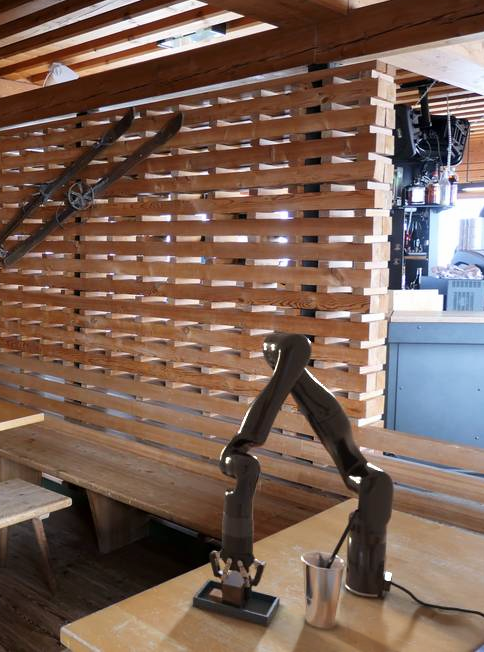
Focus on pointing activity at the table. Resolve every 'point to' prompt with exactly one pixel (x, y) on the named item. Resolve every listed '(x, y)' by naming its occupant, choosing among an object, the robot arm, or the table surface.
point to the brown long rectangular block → (233, 590)
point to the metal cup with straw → (323, 583)
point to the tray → (253, 610)
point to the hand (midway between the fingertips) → (236, 596)
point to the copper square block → (216, 596)
